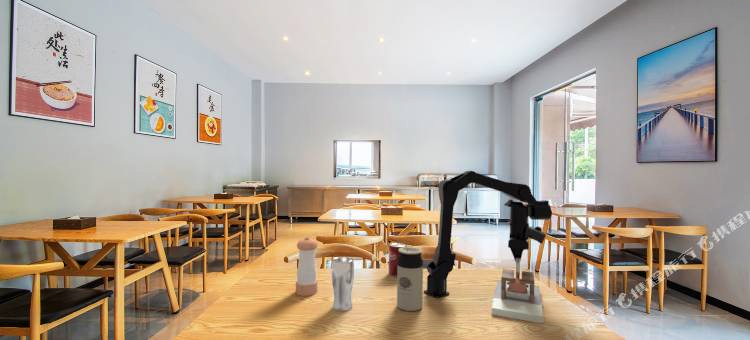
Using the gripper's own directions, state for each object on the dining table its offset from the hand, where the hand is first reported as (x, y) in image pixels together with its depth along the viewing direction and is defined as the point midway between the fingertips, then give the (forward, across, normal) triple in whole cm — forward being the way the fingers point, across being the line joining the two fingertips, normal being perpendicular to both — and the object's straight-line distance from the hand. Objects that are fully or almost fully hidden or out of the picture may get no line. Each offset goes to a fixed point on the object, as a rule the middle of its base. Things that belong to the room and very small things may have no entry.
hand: (517, 263), depth 120 cm
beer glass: (+11, -36, +50) cm, 63 cm away
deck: (+10, -8, 0) cm, 13 cm away
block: (+8, -8, 0) cm, 12 cm away
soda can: (+11, +2, +45) cm, 47 cm away
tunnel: (+8, -8, 0) cm, 12 cm away
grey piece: (+8, -8, 0) cm, 11 cm away
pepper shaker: (+11, -30, +68) cm, 75 cm away
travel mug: (+11, -27, +31) cm, 42 cm away
